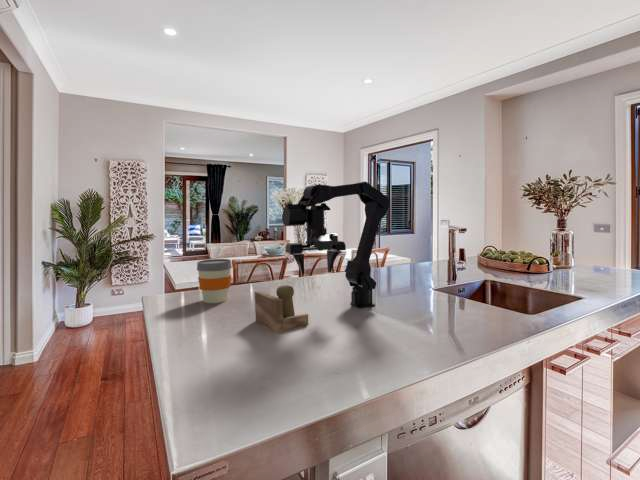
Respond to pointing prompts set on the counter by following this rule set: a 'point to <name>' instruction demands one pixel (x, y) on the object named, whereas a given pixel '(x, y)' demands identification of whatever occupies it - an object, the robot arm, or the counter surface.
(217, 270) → the reusable coffee cup
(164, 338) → the counter surface
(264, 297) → the post bracket
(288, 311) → the cork
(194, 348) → the counter surface
